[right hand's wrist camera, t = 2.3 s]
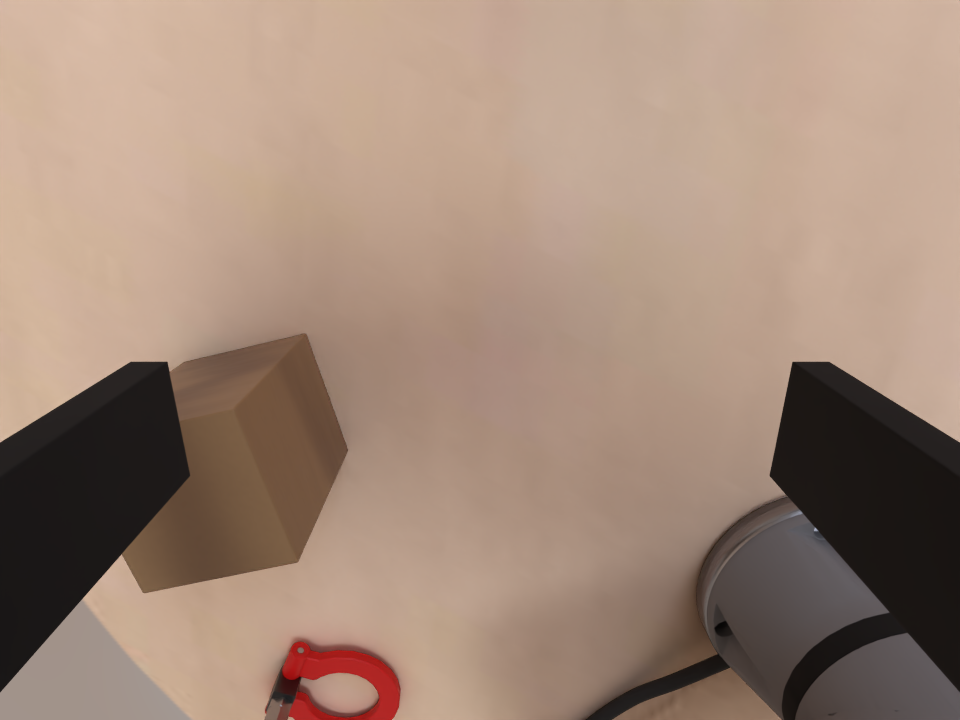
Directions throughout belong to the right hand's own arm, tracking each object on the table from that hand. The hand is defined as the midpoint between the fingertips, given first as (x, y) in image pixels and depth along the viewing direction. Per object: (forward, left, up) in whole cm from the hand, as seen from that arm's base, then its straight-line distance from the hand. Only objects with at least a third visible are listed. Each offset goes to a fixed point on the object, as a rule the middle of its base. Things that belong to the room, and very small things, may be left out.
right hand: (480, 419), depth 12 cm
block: (-15, +6, -21) cm, 27 cm away
